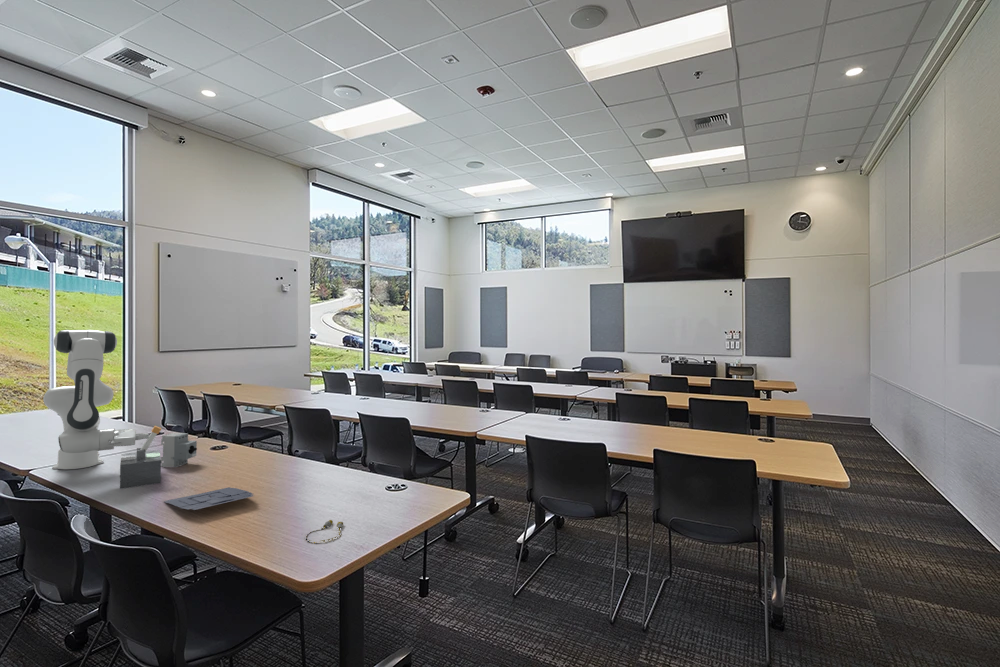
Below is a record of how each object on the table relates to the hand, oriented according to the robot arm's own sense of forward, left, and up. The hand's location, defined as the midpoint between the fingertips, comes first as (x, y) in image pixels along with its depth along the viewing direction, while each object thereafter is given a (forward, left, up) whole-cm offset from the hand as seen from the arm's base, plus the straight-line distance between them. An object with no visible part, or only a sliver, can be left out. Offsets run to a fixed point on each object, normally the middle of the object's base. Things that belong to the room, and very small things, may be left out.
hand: (148, 435), depth 218 cm
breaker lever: (0, -3, -9) cm, 9 cm away
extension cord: (+104, +47, -20) cm, 116 cm away
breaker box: (0, -3, -19) cm, 20 cm away
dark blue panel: (+50, +19, -20) cm, 58 cm away
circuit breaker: (-18, +13, -20) cm, 30 cm away
